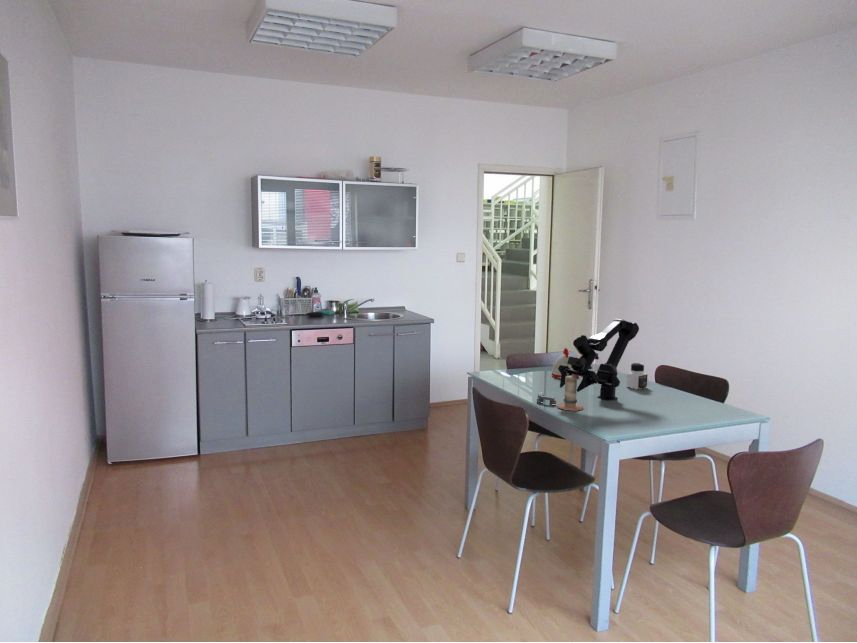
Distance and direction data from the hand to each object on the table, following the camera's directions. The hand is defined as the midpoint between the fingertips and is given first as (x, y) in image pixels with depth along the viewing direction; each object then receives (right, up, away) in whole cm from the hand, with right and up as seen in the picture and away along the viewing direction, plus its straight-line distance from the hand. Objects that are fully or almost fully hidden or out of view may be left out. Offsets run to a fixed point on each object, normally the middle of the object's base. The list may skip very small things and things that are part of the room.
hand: (568, 389), depth 276 cm
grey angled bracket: (-8, -7, +11) cm, 15 cm away
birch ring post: (+1, -8, +2) cm, 8 cm away
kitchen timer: (+12, 0, +65) cm, 66 cm away
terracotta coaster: (+1, -8, +2) cm, 9 cm away
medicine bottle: (+42, -4, +40) cm, 58 cm away
